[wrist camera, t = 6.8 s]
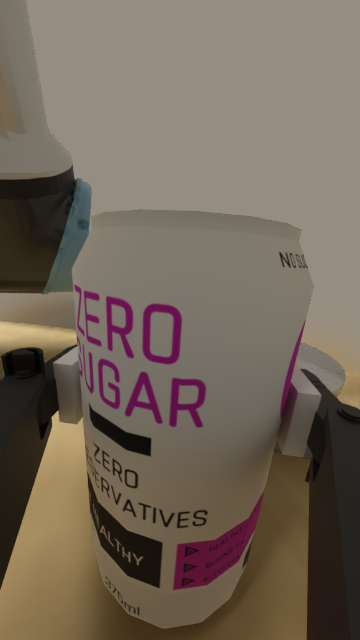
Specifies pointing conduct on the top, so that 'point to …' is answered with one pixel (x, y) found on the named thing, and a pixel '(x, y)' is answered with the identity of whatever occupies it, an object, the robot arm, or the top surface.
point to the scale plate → (321, 367)
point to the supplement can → (183, 396)
